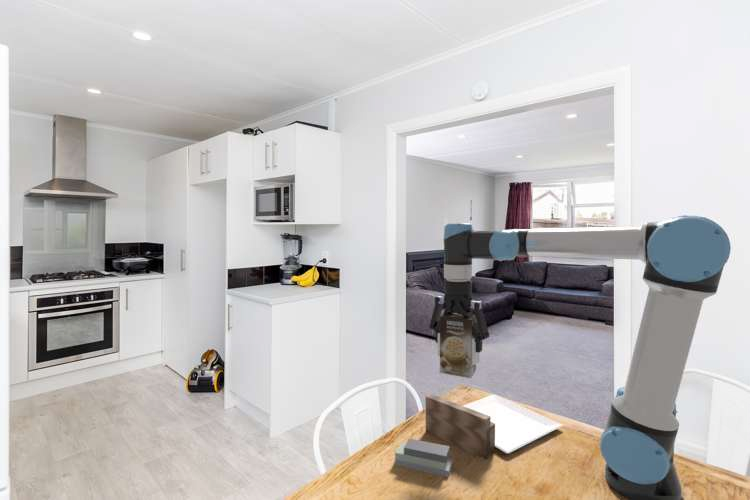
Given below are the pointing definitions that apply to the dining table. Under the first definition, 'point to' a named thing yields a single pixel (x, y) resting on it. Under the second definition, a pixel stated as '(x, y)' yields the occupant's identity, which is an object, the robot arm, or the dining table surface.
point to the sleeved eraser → (424, 457)
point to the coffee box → (456, 345)
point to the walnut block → (460, 426)
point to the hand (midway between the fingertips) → (458, 358)
